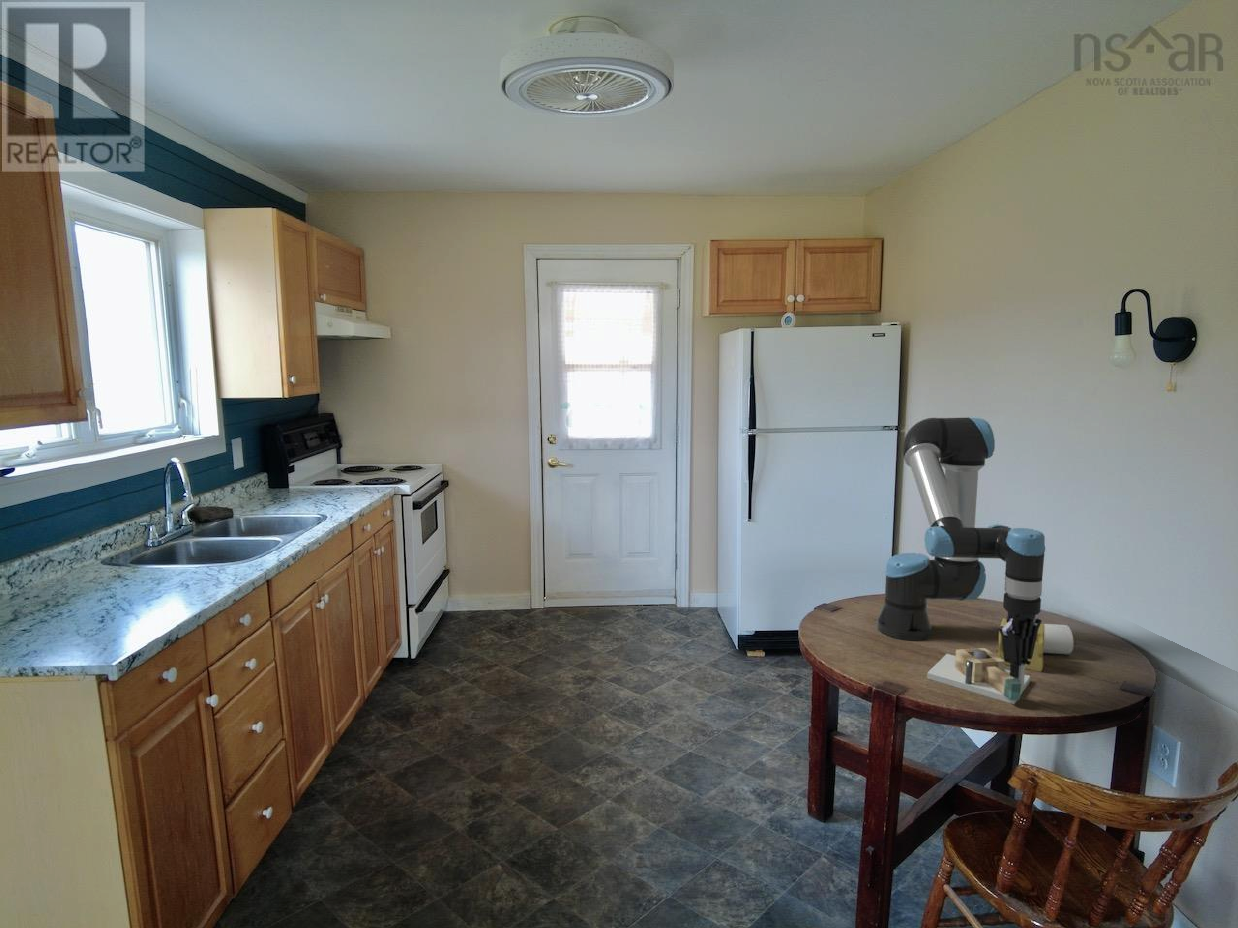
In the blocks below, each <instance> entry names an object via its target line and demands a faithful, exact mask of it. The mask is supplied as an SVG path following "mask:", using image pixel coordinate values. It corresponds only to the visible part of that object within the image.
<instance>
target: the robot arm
mask: <svg viewBox="0 0 1238 928" xmlns="http://www.w3.org/2000/svg"><path fill="white" fill-rule="evenodd" d="M995 445H996V441H995V436H994V431H993V429H992V427H991V425H990V423H989V422H988V421H987V420H985V419H984V418H979V417H970V416H968V417H929V418H925V419H921V420H920V421H918V422H916V423H915V424H914V425H913V426H911V428H910V429H909V430H908V431H907V433H906V435H905V437H904V439H903V442H902V449H901V450H902V456H903V458H904V462H905V464H906V465H907V466H909V467H910V468H911V471H912V475H913V478H914V481H915V484H916V487H917V490H918V493H919V496H920V499H921V502H922V505H923V508H924V512H925V515H926V518H927V521H928V524H929V527H928V528H926V530H925V533H924V548H925V550H926V552H927V554H928V555H930V556H931V557H934V559H930V558H929V556H928V555H926V554H923V553H916V552H906V553H905V552H904V553H899V554H895V555H893V556H891V557H889V558H888V559H887V562H886V569H885V588H884V590H885V591H884V605H883V607H882V609H881V611H880V614H879V616H878V618H877V624H876V625H877V628H876V629H877V630H878V631H879V632H880V633H882V634H883V635H886V636H888V637H891V638H895V639H898V640H904V641H905V640H906V641H921V640H927V639H929V638H930V637H931V636H932V624H931V621H930V617H929V614H928V610H927V603H928V600H949V601H950V600H951V601H955V600H956V601H961V602H962V601H974V600H977V599H978V598H979V597H980V596H981V595H982V593H983V591H984V589H985V586H986V581H987V574H986V568H985V566H984V563H983V562H981V561H980V560H979V559H999V560H1002V561H1003V562H1005V572H1004V575H1005V577H1004V593H1003V603H1002V605H1003V609H1004V610H1005V611H1006V612H1007V617H1006V618H1005V619H1006V622H1007V624H1006V625H1005V627H1002V626H999V627H998V630H999V631H1000V633H1001V637H1002V646H1003V655H1004V661H1005V662H1008V663H1010V665H1009V666H1010V667H1009V670H1010V677H1012V678H1013V679H1015V680H1017V681H1018V682H1020V683H1021V690H1020V692H1021V691H1023V690H1024V676H1025V675H1026V674H1025V673H1026V672H1025V671H1026V668H1025V664H1028V665H1030V663H1031V662H1030V661H1028V659H1032V656H1033V651H1034V647H1035V642H1036V637H1037V633H1038V629H1039V626H1040V624H1042V619H1040V618H1037V617H1036V616H1037V615H1039V614H1040V613H1041V606H1042V605H1041V604H1042V599H1041V596H1042V595H1043V594H1042V592H1043V574H1044V564H1045V563H1044V562H1045V552H1046V545H1045V544H1046V543H1045V542H1046V540H1045V539H1046V538H1045V534H1044V533H1043V532H1041V531H1040V530H1037V529H1033V528H1025V527H1017V528H1016V527H1014V528H1011V527H1008V526H1005V525H1003V524H992V525H989V526H988V527H975V526H976V525H975V524H976V514H977V513H976V511H977V509H976V508H977V499H978V498H977V495H978V480H979V471H980V470H981V469H982V468H983V467H984V466H986V460H987V459H990V458H991V457H992V456H993V455H994V452H995ZM943 468H944V469H943ZM944 470H945V471H944ZM999 631H998V632H999ZM1024 691H1025V690H1024ZM1024 691H1023V692H1024Z"/></svg>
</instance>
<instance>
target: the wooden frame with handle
mask: <svg viewBox="0 0 1238 928" xmlns="http://www.w3.org/2000/svg"><path fill="white" fill-rule="evenodd" d="M977 649H978V650H983V651H986V652H987V659H976V658H975V657H974V656H973V654H974V650H977ZM955 656H956V657H955V668H956V669H957V670H959V671H960V672H961V673H963V674H964V675H965V676H966V664H967V661H971V662H973V670H972V681H973V682H981V681H985V682H986V683H988V684H989V685H991V686H992V687H993V688H995V689H996V690H997V691H999V692H1000V693H1002V694H1003V695H1004V696H1006V697H1007V698H1008V699H1010V700H1017V701H1020V700H1021V695H1020V690H1021V683H1020V682H1018V681H1017V680H1015V679H1013V678H1012V677H1010V676H1009V675H1007V674H1006V673H1004V672H1005V669H1006V665H1005V661H1004V660H1003V659H1001V658H1000V657H998V655H997V654H995V653H994V652H992V651H990V650H989V649H987V648H985V647H978V648H976V647H975V648H963V649H961V648H959V649H955Z"/></svg>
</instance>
